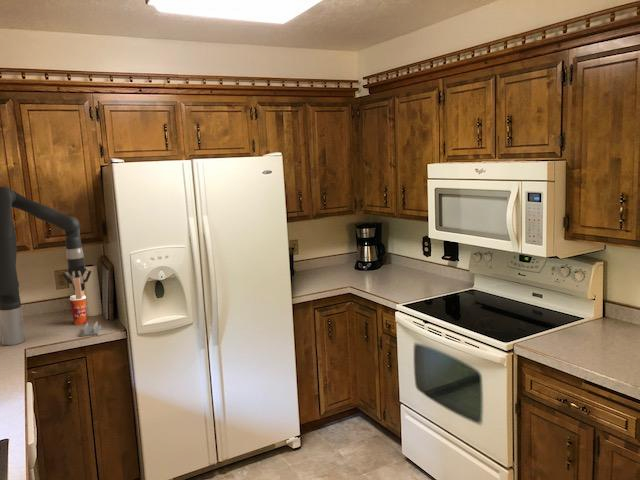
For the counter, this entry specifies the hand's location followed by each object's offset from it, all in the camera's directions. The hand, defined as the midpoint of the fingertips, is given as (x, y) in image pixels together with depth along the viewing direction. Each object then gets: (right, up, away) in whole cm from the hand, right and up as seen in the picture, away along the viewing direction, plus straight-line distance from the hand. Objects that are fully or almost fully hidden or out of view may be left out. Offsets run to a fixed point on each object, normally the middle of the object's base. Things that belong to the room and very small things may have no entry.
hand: (79, 290), depth 266 cm
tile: (0, -3, +1) cm, 3 cm away
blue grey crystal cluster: (+4, -21, +4) cm, 22 cm away
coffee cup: (-9, -19, +20) cm, 29 cm away
